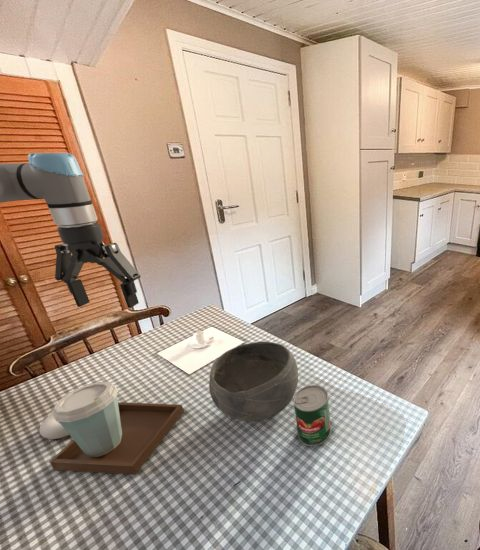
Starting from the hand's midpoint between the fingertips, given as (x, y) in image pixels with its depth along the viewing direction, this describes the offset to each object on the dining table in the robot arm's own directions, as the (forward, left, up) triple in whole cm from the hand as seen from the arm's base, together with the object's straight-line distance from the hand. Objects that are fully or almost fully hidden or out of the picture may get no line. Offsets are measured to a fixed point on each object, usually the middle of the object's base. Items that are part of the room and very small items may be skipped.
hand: (108, 305), depth 78 cm
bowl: (+39, -6, -27) cm, 48 cm away
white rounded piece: (+8, +19, -27) cm, 34 cm away
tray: (+10, -17, -27) cm, 33 cm away
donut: (-7, -14, -27) cm, 31 cm away
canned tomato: (+55, -13, -27) cm, 63 cm away
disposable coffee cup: (+7, -19, -26) cm, 33 cm away
